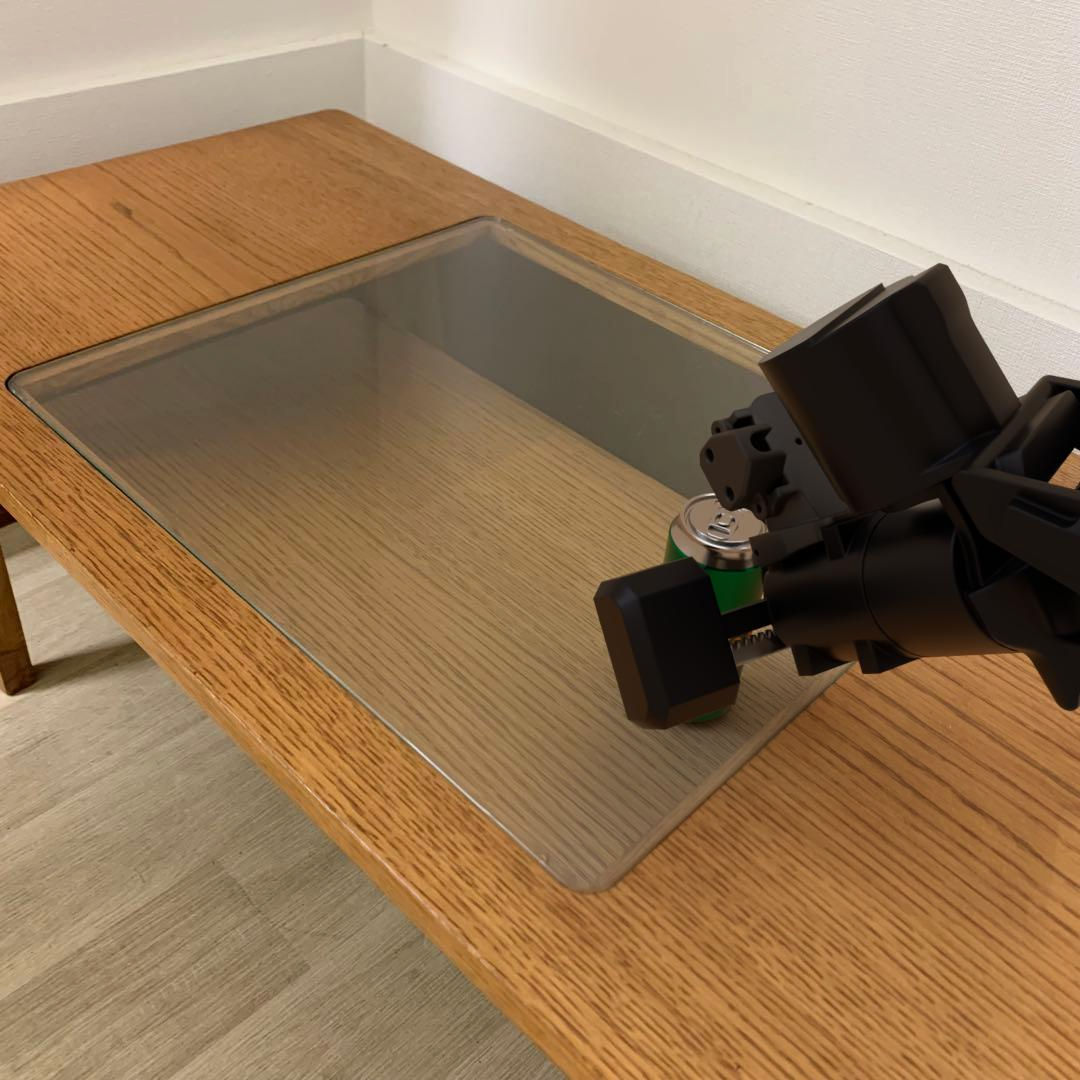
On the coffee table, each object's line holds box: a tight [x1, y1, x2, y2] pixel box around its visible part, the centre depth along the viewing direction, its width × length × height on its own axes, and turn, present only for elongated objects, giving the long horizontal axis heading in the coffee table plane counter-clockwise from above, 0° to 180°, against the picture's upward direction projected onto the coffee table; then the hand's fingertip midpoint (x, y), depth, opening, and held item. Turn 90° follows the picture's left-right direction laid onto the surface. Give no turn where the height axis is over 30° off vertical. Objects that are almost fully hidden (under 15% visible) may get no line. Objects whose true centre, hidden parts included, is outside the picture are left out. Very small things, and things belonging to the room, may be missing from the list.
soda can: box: [662, 492, 768, 723], centre depth 57 cm, size 5×5×12 cm
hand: (710, 609), depth 56 cm, fingers open, 9 cm apart
